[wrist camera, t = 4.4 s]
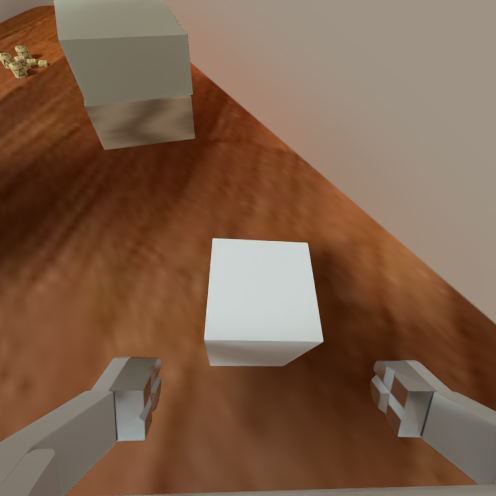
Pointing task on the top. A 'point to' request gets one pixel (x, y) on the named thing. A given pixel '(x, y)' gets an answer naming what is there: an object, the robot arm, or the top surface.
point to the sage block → (124, 49)
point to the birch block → (143, 121)
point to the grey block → (260, 303)
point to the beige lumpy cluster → (20, 62)
